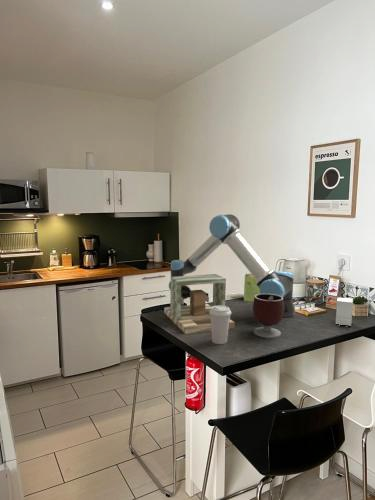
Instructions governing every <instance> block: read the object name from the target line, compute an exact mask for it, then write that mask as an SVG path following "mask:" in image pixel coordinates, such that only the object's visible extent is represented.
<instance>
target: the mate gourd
mask: <svg viewBox="0 0 375 500" xmlns="http://www.w3.org/2000/svg"><path fill="white" fill-rule="evenodd" d="M252 303H253V304H252V311H253V312H252V314H253V317H254V320H256V322H257V323H259V324H260V325H263V327H262V326H261V327H256V328H254V329H253V334H254V335H257V336H259V337H261V338H267V339H268V338H270V339H273V338H278V337H281V334H282V332H281V331H280V330H279V329H276V328H273V327H272V326H275V325H278V324H279V323H281V321H282V320H283V318H284V317H283V312H284V302H283V297H281V296H279V295H275V294H257V295H255V298H254V302H252Z"/></svg>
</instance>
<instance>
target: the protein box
mask: <svg viewBox="0 0 375 500" xmlns="http://www.w3.org/2000/svg"><path fill="white" fill-rule="evenodd" d="M243 286H244V287H243V288H244V289H243V302H252V303H253V302H254V298H255V295H257V294H260V289H259V287H258V286H257V285H256V279H255V278H254V276H253V275H252V274H251V273H250V272H249V273H245V275H244V285H243Z"/></svg>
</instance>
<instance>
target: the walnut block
mask: <svg viewBox="0 0 375 500" xmlns="http://www.w3.org/2000/svg"><path fill="white" fill-rule="evenodd" d="M206 293H207V292H206V291H204V290H203V289H193V290H192V289H190V297H189V305H190V314H191V315H193V316H194V317H196V316H205V304H206V301H205V299H206Z"/></svg>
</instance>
